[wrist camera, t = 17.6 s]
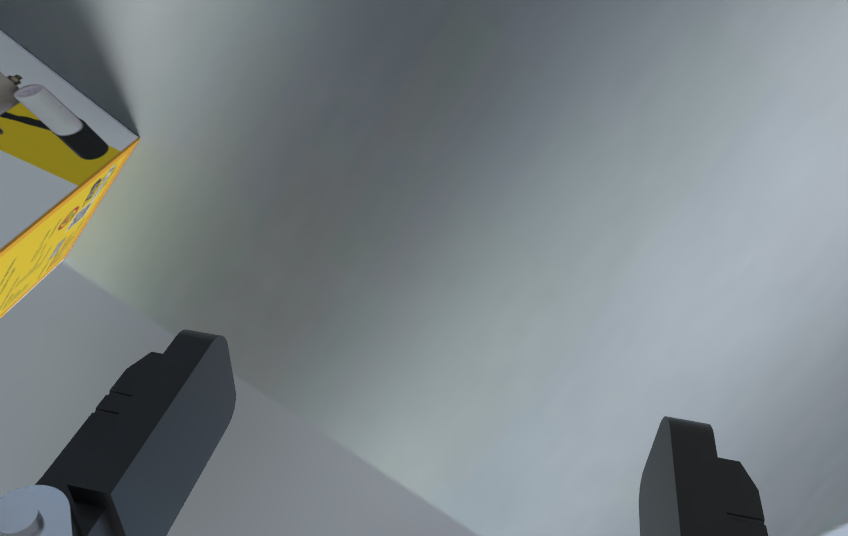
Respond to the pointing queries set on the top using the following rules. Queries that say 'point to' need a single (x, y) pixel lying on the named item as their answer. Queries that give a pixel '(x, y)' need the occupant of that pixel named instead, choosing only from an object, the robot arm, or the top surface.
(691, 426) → the robot arm
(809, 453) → the top surface
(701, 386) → the top surface
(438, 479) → the top surface
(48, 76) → the packaging box
